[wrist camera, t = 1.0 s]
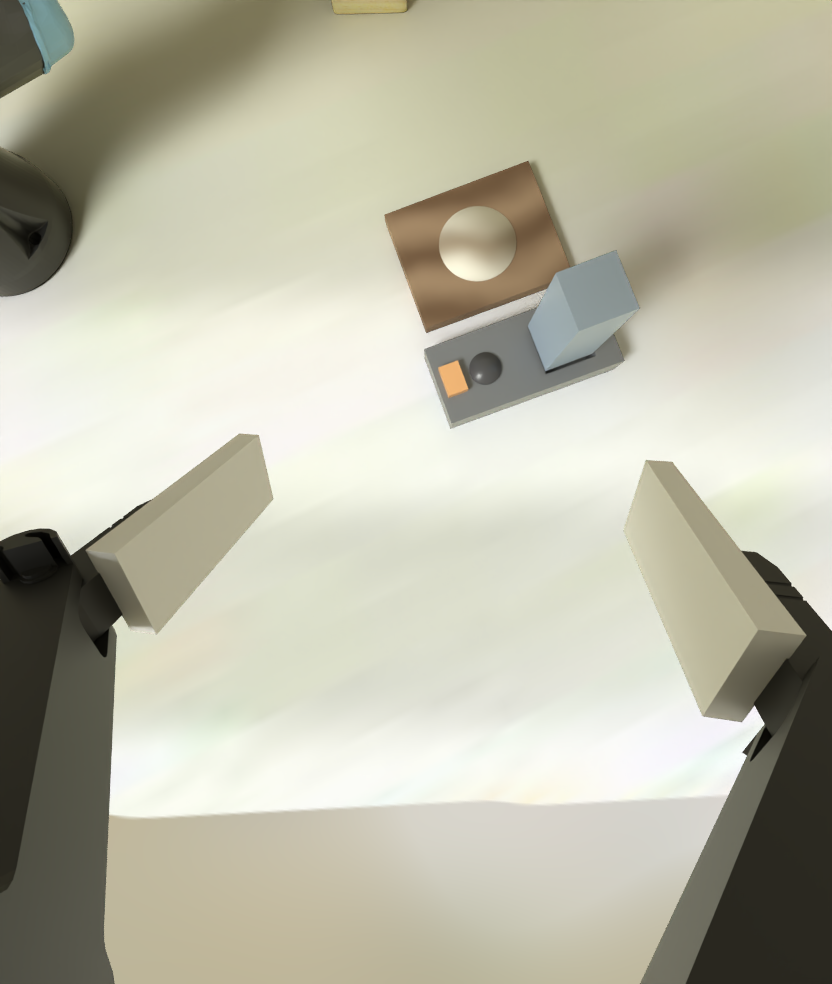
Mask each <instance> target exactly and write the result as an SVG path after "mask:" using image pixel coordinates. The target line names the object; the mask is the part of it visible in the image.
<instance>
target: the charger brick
mask: <svg viewBox="0 0 832 984" xmlns="http://www.w3.org/2000/svg"><path fill="white" fill-rule="evenodd" d="M639 309H640V308H639V305H638V303H637V300H636V298H635V295H634V293H633V290H632V288H631V286H630V283H629V281H628V278H627V276H626V273H625V271H624V268H623V266H622V263H621V261H620V258H619V256H618V254H617V251H616V250H615V251H612V252H610V253H607V254H604V255H602V256H599V257H596V258H594V259H591V260H589V261H586V262H583V263H581V264H578V265H575V266H573V267H570V268H567V269H565V270H562V271H560V272H557V273H556V274H555V275H554V277H553V279H552V281H551V283H550V285H549V287H548V289H547V291H546V292H545V294H544V296H543V298H542V300H541V302H540V304H539V306H538V307H537V309H536V311H535V313H534V315H533V317H532V319H531V321H530V323H529V324H528V328H529V330H530V333H531V335H532V339H533V342H534V344H535V347H536V350H537V352H538V355H539V357H540V360H541V363H542V365H543V368H544V370H545V371H547V370H550V369H553V368H555V367H558V366H561V365H563V364H566V363H569V362H571V361H574V360H577V359H579V358H582V357H585V356H587V355H590V354H592V353H594V352H595V351H596V350H597V349H598V348H599V347H600V346H601V345H602V344H603V343H604V342H605V341H606V340H607V339H608V338H609V337H610V336H611V335H612V334H613V333H614V332H616V331H617V330H618V329H619V328H620V327H621V326H622V325H623V324H624V323H625V322H626V321H627V320H628V319H629V318H630V317H631V316H632V315H633V314H634V313H635V312H637V311H638V310H639Z"/></svg>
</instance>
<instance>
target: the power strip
mask: <svg viewBox="0 0 832 984" xmlns="http://www.w3.org/2000/svg"><path fill="white" fill-rule="evenodd" d="M536 309H537V308H535V309H532V310H530V311H527V312H524V313H521V314H519V315H516V316H513V317H511V318H508V319H505V320H502V321H500V322H497V323H494V324H492V325H489V326H486V327H484V328H481V329H478V330H475V331H473V332H470V333H467V334H465V335H462V336H459V337H456V338H454V339H451V340H448V341H446V342H443V343H440V344H437V345H435V346H432V347H429V348H427V349H424V355H425V361H426V364H427V366H428V369H429V372H430V374H431V377H432V380H433V383H434V385H435V388H436V391H437V393H438V396H439V399H440V402H441V404H442V407H443V410H444V412H445V415H446V418H447V421H448V423H449V426H450V429H451V428H454V427H457V426H459V425H462V424H465V423H468V422H470V421H473V420H476V419H479V418H481V417H484V416H487V415H490V414H492V413H495V412H498V411H501V410H503V409H506V408H509V407H512V406H514V405H517V404H520V403H523V402H525V401H528V400H531V399H533V398H536V397H539V396H542V395H544V394H547V393H550V392H553V391H555V390H558V389H561V388H564V387H566V386H569V385H572V384H575V383H577V382H580V381H583V380H586V379H588V378H591V377H594V376H597V375H599V374H602V373H605V372H608V371H610V370H613V369H614V368H616V367H617V366H618V365H620V364H621V363H622V362H623V361H624V358H623V356H622V353H621V351H620V348H619V346H618V343H617V341H616V338H615V336H614V333H613V334H612V335H611V336H610V337H609V338H608V339H607V340H606V341H605V342H604V343H603V344H602V345H601V346H600V347H599V348H598V349H597V350H596V351H595V352H594V353H592V354H590V355H587V356H585V357H582V358H579V359H577V360H574V361H571V362H569V363H566V364H563V365H561V366H558V367H555V368H553V369H550V370H547V371H545V370H544V368H543V365H542V363H541V360H540V357H539V355H538V352H537V350H536V347H535V344H534V342H533V339H532V335H531V333H530V330H529V328H528V324H529V323H530V321H531V319H532V317H533V315H534V313H535V311H536Z"/></svg>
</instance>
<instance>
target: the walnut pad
mask: <svg viewBox="0 0 832 984" xmlns="http://www.w3.org/2000/svg"><path fill="white" fill-rule="evenodd" d="M385 221H386V225H387V228H388V230H389V233H390V236H391V238H392V241H393V244H394V247H395V249H396V252H397V255H398V257H399V260H400V263H401V266H402V268H403V271H404V274H405V276H406V279H407V282H408V285H409V287H410V290H411V293H412V295H413V298H414V301H415V304H416V306H417V309H418V312H419V314H420V317H421V320H422V323H423V325H424V328H425V331H426V333H428V332H430V331H433V330H436V329H439V328H441V327H444V326H447V325H450V324H452V323H455V322H458V321H460V320H463V319H466V318H469V317H471V316H474V315H477V314H479V313H482V312H485V311H488V310H490V309H493V308H496V307H498V306H501V305H504V304H507V303H509V302H512V301H515V300H517V299H520V298H523V297H526V296H528V295H531V294H534V293H536V292H539V291H542V290H545V289H547V288H548V287H549V285H550V283H551V281H552V279H553V277H554V275H555V274H556V273H557V272H560V271H562V270H565V269H567V268H570V265H569V263H568V260H567V258H566V255H565V253H564V250H563V248H562V245H561V243H560V240H559V238H558V235H557V232H556V230H555V227H554V225H553V222H552V220H551V217H550V215H549V212H548V210H547V207H546V205H545V202H544V200H543V197H542V194H541V192H540V189H539V187H538V184H537V182H536V179H535V177H534V174H533V172H532V169H531V167H530V164H529V161H527V162H524V163H521V164H519V165H516V166H513V167H511V168H508V169H505V170H503V171H500V172H497V173H495V174H492V175H489V176H487V177H484V178H481V179H479V180H476V181H473V182H471V183H468V184H465V185H463V186H460V187H457V188H455V189H452V190H449V191H447V192H444V193H441V194H439V195H436V196H433V197H431V198H428V199H425V200H423V201H420V202H417V203H415V204H412V205H409V206H407V207H404V208H401V209H399V210H396V211H393V212H391V213H388V214H385Z"/></svg>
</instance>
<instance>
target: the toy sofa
mask: <svg viewBox="0 0 832 984" xmlns="http://www.w3.org/2000/svg"><path fill="white" fill-rule="evenodd" d="M331 2H332V6H333V11H334V13H336V14H359V13H394V12H405V11H406V10H407V0H331Z"/></svg>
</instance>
